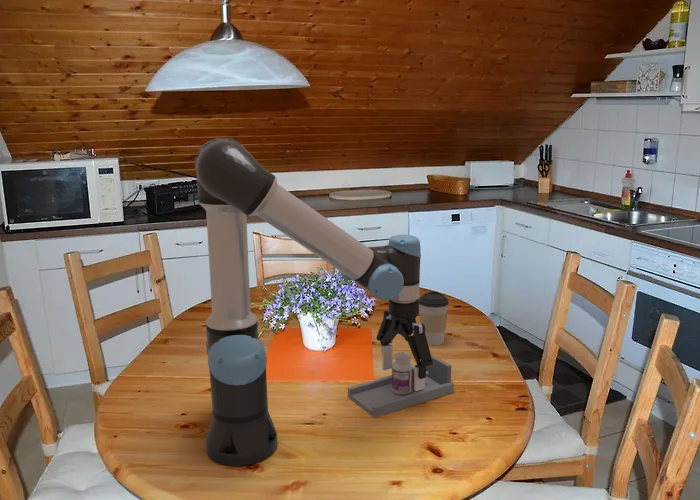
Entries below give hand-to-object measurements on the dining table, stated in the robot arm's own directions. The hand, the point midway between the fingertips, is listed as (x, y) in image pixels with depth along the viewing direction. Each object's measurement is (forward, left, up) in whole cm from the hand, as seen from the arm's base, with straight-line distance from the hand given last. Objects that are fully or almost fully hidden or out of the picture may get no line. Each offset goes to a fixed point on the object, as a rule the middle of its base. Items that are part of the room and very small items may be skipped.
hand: (402, 378), depth 154 cm
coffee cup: (+28, +23, -4) cm, 37 cm away
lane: (0, 0, -4) cm, 4 cm away
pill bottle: (0, 0, -3) cm, 3 cm away
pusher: (+5, 0, -3) cm, 6 cm away
